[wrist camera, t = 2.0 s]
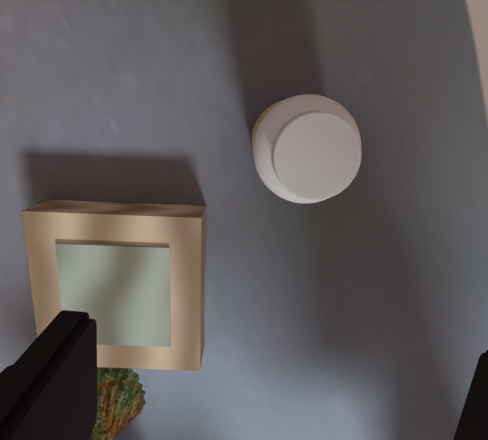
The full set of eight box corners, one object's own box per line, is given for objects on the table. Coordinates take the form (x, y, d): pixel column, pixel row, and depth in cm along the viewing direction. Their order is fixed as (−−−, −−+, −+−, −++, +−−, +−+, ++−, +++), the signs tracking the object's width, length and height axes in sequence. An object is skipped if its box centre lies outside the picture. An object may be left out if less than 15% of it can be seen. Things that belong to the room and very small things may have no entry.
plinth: (206, 205, 34) (200, 219, 30) (204, 344, 38) (199, 372, 34) (46, 199, 34) (19, 212, 30) (61, 339, 38) (38, 367, 34)
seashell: (126, 379, 35) (136, 466, 38) (141, 351, 39) (149, 432, 41) (19, 374, 35) (37, 460, 38) (45, 347, 39) (59, 427, 42)
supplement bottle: (341, 159, 33) (398, 189, 21) (270, 191, 34) (284, 238, 22) (311, 83, 32) (355, 68, 19) (237, 119, 32) (233, 126, 20)
